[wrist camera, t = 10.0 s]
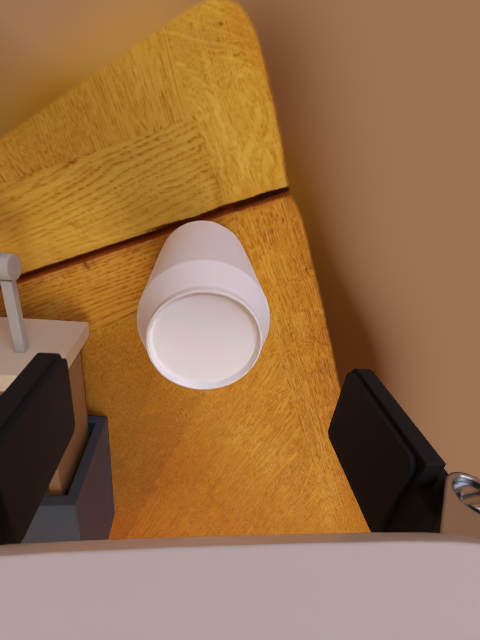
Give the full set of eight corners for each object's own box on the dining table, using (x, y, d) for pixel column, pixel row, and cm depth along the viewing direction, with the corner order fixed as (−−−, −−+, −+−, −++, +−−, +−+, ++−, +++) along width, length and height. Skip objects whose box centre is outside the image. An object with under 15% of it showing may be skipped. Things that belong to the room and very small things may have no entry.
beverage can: (148, 279, 24) (108, 376, 14) (180, 201, 22) (162, 246, 11) (222, 309, 26) (237, 416, 16) (258, 241, 24) (305, 311, 13)
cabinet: (-45, 413, 28) (-137, 510, 20) (107, 415, 30) (75, 505, 22) (-9, 516, 34) (-68, 618, 27) (114, 513, 36) (91, 608, 29)
